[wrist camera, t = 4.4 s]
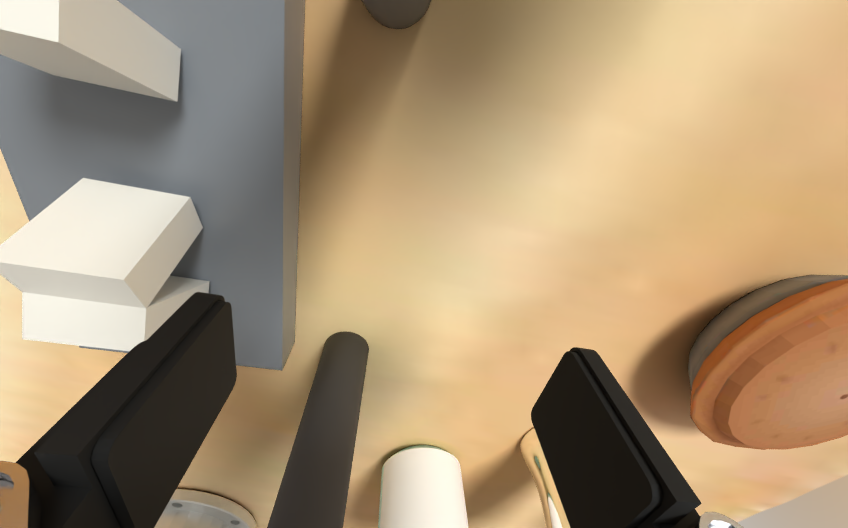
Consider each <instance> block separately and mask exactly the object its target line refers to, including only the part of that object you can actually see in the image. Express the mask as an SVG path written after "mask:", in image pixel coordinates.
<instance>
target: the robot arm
mask: <svg viewBox="0 0 848 528" xmlns="http://www.w3.org/2000/svg"><path fill="white" fill-rule="evenodd" d="M236 377H237V373H236V360H235V346H234V333H233V320H232V307H231V304H230V303H229V302H225V299H224V297H223V296H222V295H216V294H209V293H203V292H196V293H194V294H193V295H192V296H191V297H190V298H189V299H188V300H187V301H186V302H185V303H184V304H182V305H181V306H180V307H179V308H178V309H177V310H176V311H175V312H174V313H173V314H172V315H171V316H170V317H169V318H168V319H167V320H166V321H165V322H164V323H163V324H162V325H161V326H160V327H159V328H158V329H157V330H156V331H155V332H154V333H153V334H152V335H151V336H150V337H149V338H148V339H147V340H146V341H143V342H141V343H139V344H138V345H136V346H135V347H134V348H133V349H132V350H131V351H129V352H128V353H127V354H126V355H125V356H124V357H123V358H122V359H121V360H120V361H119V362H118V363H117V364H116V365H115V366H114V367H113V368H112V369H111V370H110V371H109V372H108V373H107V374H106V375H105V376H104V377H103V378H102V379H101V380H100V381H99V382H98V383H97V384H96V385H95V386H94V387H93V388H92V389H91V390H90V391H89V392H87V393H86V394H85V395H84V396H83V397H82V398H81V399H80V400H79V401H78V402H77V403H76V404H75V405H74V406H73V407H72V408H71V409H70V410H69V411H68V412H67V413H66V414H65V415H64V416H63V417H62V418H61V419H60V420H59V421H58V422H57V423H56V424H55V425H54V426H53V427H52V428H51V429H50V430H49V431H48V432H47V433H45V434H44V435H43V436H42V437H41V438H40V439H39V440H38V441H37V442H36V443H35V444H34V445H33V446H32V447H31V448H30V449H29V450H28V451H27V452H26V453H25V454H24V455H23V456H22V457H21V458H20V459H19V460H18V461H17V462H16V463H13V462H6V461H0V528H256V522H255V520H254V518H253V516H252V515H251V514H250V513H249V512H248V511H247V510H246V509H245V508H243V507H242V506H240V505H239V504H237V503H235V502H233V501H231V500H229V499H226V498H223V497H221V496H218V495H214V494H210V493H207V492H201V491H195V490H186V489H176V488H177V487H178V485H179V483H180V481H181V479H182V478H183V476H184V474H185V472H186V471H187V469H188V467H189V465H190V464H191V462H192V460H193V458H194V457H195V455H196V453H197V451H198V449H199V448H200V446H201V444H202V442H203V441H204V439H205V437H206V435H207V434H208V432H209V430H210V428H211V427H212V425H213V423H214V421H215V419H216V418H217V416H218V414H219V412H220V411H221V409H222V407H223V405H224V404H225V402H226V400H227V398H228V397H229V395H230V393H231V391H232V389H233V387H234V385H235V382H236ZM531 419H532V423H533V426H534V428H535V431H536V434H537V437H538V440H539V442H540V445H541V448H542V451H543V453H544V456H545V459H546V462H547V464H548V467H549V470H550V473H551V475H552V478H553V481H554V484H555V486H556V489H557V492H558V495H559V498H560V500H561V503H562V506H563V509H564V511H565V514H566V517H567V520H568V522H569V525H570V528H743V527H742V526H741V525H739V524H738V523H737V522H735V521H734V520H732V519H730V518H728V517H726V516H725V515H722V514H719V513H716V512H705V513H704V514H703V515H702V516H699V515H698V513H697V512H696V510H695V508H696V507H698V506H699V505H700V504H701V502H700V500H699V499H698V497H697V496H696V495H695V493H694V492H693V490H692V489H691V487H690V486H689V484H688V483H687V482H686V480H685V479H684V477H683V476H682V474H681V473H680V471H679V470H678V469H677V467H676V466H675V464H674V463H673V461H672V460H671V458H670V457H669V456H668V454H667V453H666V451H665V450H664V448H663V447H662V445H661V444H660V443H659V441H658V440H657V438H656V437H655V435H654V434H653V432H652V431H651V430H650V428H649V427H648V425H647V424H646V422H645V421H644V419H643V418H642V417H641V415H640V414H639V412H638V411H637V409H636V408H635V406H634V405H633V404H632V402H631V401H630V399H629V398H628V396H627V395H626V393H625V392H624V391H623V389H622V388H621V386H620V385H619V383H618V382H617V380H616V379H615V378H614V376H613V375H612V373H611V372H610V370H609V369H608V367H607V366H606V365H605V363H604V362H603V360H602V359H601V357H600V356H599V354H598V353H597V352H596V351H594V350H590V349H583V348H572V349H571V350H570V351H569V352H566V353H565V354H564V355H563V357H562V359H561V361H560V362H559V364H558V366H557V367H556V369H555V371H554V373H553V374H552V376H551V378H550V379H549V381H548V383H547V385H546V386H545V388H544V390H543V391H542V393H541V395H540V397H539V398H538V400H537V402H536V403H535V405H534V407H533V409H532V412H531Z"/></svg>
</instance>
